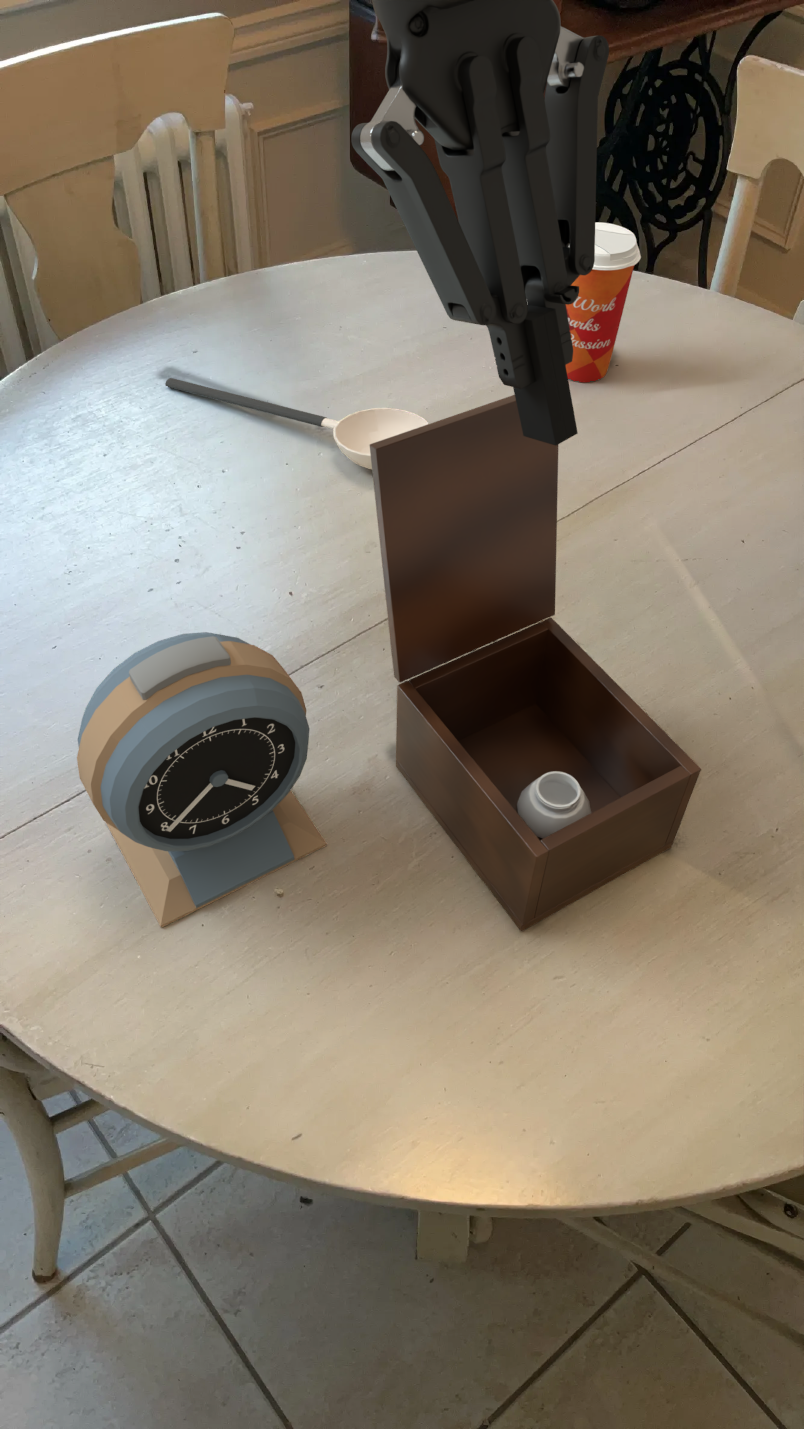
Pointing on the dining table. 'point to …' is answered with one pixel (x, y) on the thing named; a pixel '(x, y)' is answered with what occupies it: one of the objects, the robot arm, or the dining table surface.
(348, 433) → the ladle
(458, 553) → the box lid
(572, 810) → the lidless jar
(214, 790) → the alarm clock
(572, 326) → the paper cup
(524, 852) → the keepsake box
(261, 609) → the dining table surface
